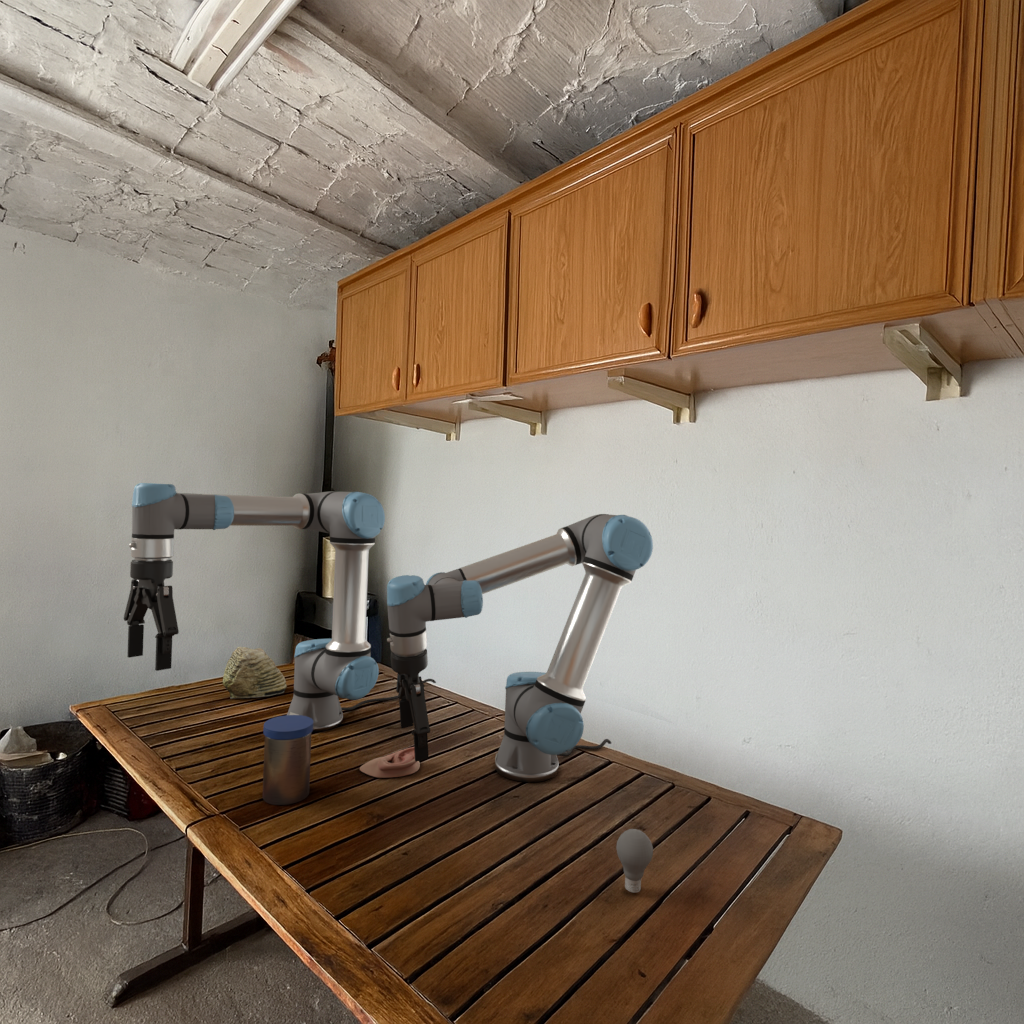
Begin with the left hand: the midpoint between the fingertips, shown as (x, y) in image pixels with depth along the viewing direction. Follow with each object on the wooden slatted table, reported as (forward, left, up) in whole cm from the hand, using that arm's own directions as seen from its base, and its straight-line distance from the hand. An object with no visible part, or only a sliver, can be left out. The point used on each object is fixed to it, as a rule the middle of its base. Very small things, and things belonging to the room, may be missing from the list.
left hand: (148, 662), depth 129 cm
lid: (-21, +19, -13) cm, 31 cm away
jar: (-21, +19, -28) cm, 40 cm away
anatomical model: (-44, +25, -28) cm, 58 cm away
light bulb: (-41, +90, -28) cm, 103 cm away
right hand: (-39, +38, -16) cm, 57 cm away
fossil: (-50, -47, -28) cm, 74 cm away
